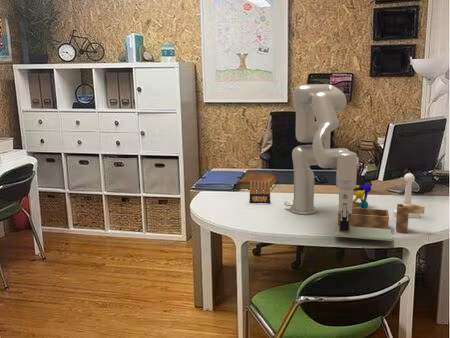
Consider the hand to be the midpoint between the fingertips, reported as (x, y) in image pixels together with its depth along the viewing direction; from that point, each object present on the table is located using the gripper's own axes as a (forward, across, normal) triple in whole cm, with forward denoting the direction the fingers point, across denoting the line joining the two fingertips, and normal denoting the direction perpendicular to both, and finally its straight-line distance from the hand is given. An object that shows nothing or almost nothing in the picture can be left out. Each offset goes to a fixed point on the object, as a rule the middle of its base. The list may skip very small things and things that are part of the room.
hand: (344, 228), depth 179 cm
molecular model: (+4, +44, -4) cm, 44 cm away
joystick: (+4, +37, -26) cm, 45 cm away
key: (-4, +15, -27) cm, 31 cm away
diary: (+5, +76, +52) cm, 92 cm away
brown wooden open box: (+4, +15, -11) cm, 19 cm away
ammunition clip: (+4, +41, +43) cm, 60 cm away
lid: (+2, 0, -7) cm, 7 cm away
